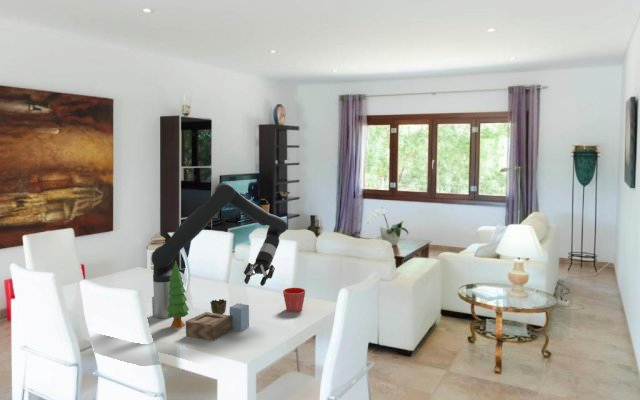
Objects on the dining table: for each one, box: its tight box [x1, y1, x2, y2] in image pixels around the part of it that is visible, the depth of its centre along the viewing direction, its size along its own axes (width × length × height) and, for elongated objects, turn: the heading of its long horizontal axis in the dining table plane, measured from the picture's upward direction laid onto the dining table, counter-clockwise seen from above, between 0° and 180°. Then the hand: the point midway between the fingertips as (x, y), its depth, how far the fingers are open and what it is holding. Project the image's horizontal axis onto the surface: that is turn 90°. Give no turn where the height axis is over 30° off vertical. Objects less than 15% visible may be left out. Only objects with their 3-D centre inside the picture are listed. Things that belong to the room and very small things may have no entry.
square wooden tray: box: [185, 311, 233, 342], centre depth 225 cm, size 14×14×7 cm
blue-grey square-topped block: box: [229, 303, 250, 332], centre depth 232 cm, size 6×6×10 cm
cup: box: [210, 298, 227, 315], centre depth 247 cm, size 8×7×8 cm
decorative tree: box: [167, 259, 190, 329], centre depth 234 cm, size 10×9×30 cm
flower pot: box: [282, 287, 306, 313], centre depth 259 cm, size 11×11×10 cm
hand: (253, 284), depth 241 cm, fingers open, 8 cm apart
